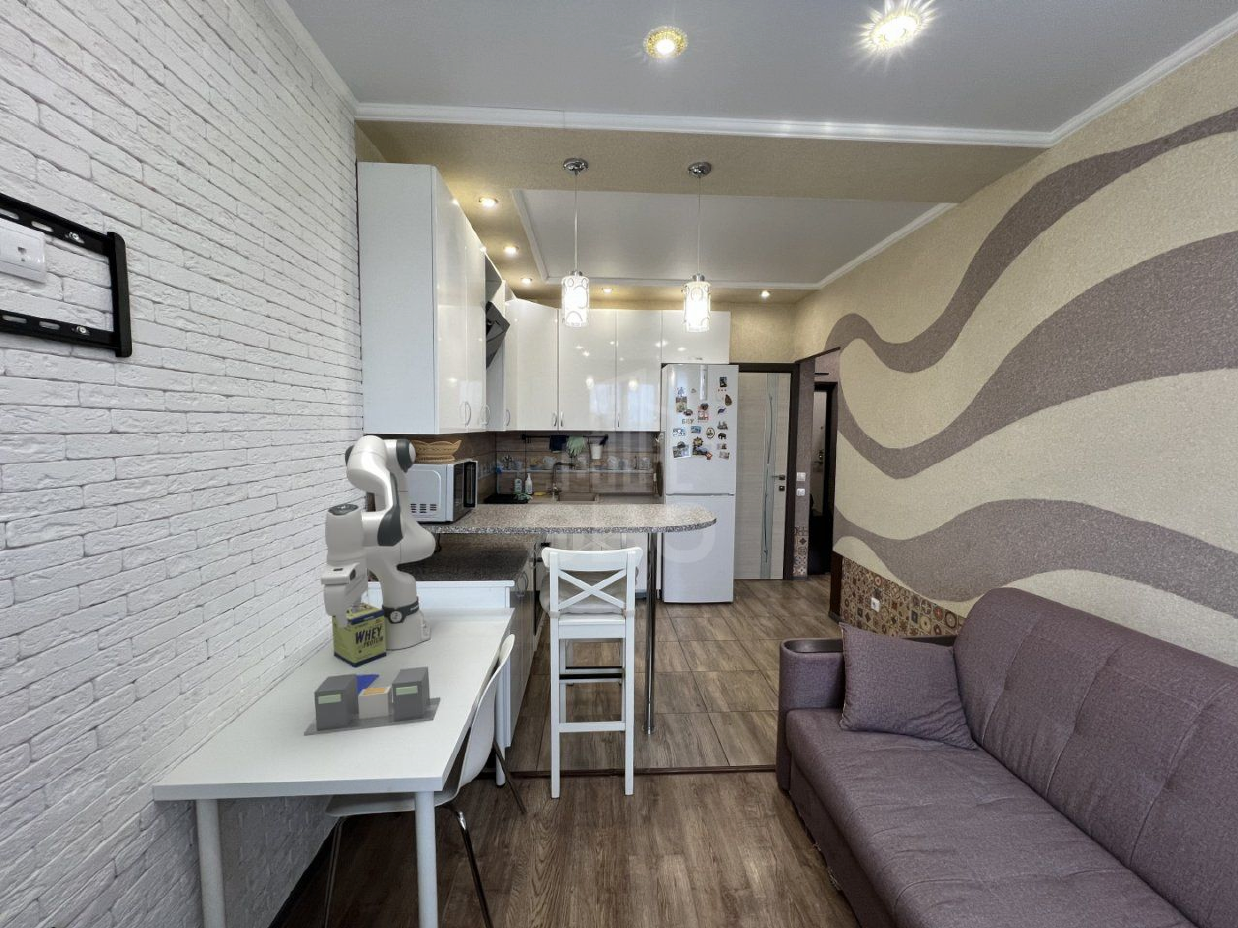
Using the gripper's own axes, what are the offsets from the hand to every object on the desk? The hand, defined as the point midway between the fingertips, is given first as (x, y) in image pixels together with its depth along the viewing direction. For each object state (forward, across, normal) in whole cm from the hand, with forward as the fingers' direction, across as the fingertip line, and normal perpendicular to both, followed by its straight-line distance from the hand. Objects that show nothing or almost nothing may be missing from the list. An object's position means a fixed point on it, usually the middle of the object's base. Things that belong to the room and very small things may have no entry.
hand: (350, 619), depth 128 cm
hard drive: (+26, -13, -4) cm, 29 cm away
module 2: (+24, +5, +15) cm, 29 cm away
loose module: (+24, +4, +6) cm, 25 cm away
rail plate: (+25, +5, +6) cm, 26 cm away
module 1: (+25, +4, -3) cm, 25 cm away
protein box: (+26, -36, -10) cm, 45 cm away
